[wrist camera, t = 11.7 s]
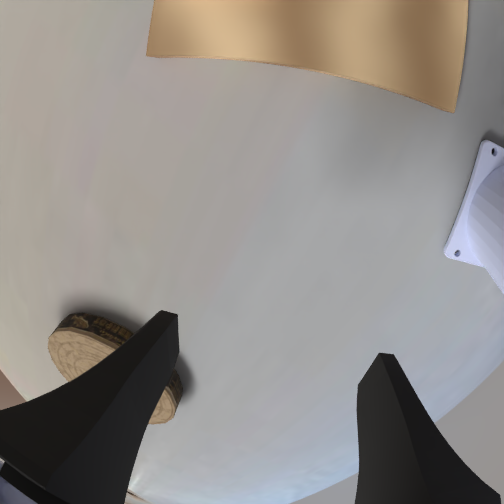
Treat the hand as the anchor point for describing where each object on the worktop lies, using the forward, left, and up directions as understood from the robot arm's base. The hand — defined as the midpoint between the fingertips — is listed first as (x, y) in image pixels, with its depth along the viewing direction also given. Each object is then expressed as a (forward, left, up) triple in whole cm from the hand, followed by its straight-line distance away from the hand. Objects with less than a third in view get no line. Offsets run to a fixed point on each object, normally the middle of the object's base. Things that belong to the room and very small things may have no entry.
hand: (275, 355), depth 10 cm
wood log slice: (+15, +20, -10) cm, 27 cm away
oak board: (+1, -17, -9) cm, 19 cm away
